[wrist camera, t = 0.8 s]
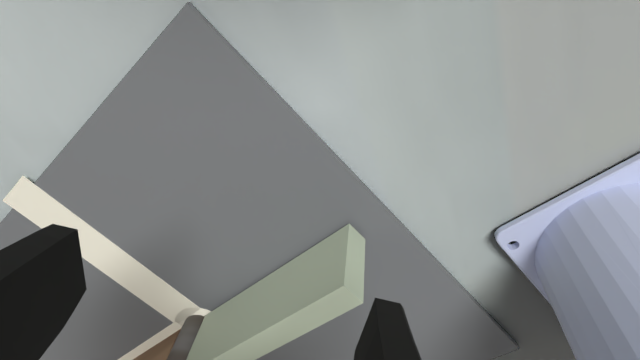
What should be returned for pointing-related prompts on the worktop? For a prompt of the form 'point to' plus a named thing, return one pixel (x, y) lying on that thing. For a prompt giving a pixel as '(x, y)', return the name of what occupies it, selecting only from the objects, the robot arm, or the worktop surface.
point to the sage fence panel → (287, 301)
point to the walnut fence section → (175, 342)
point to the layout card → (222, 213)
